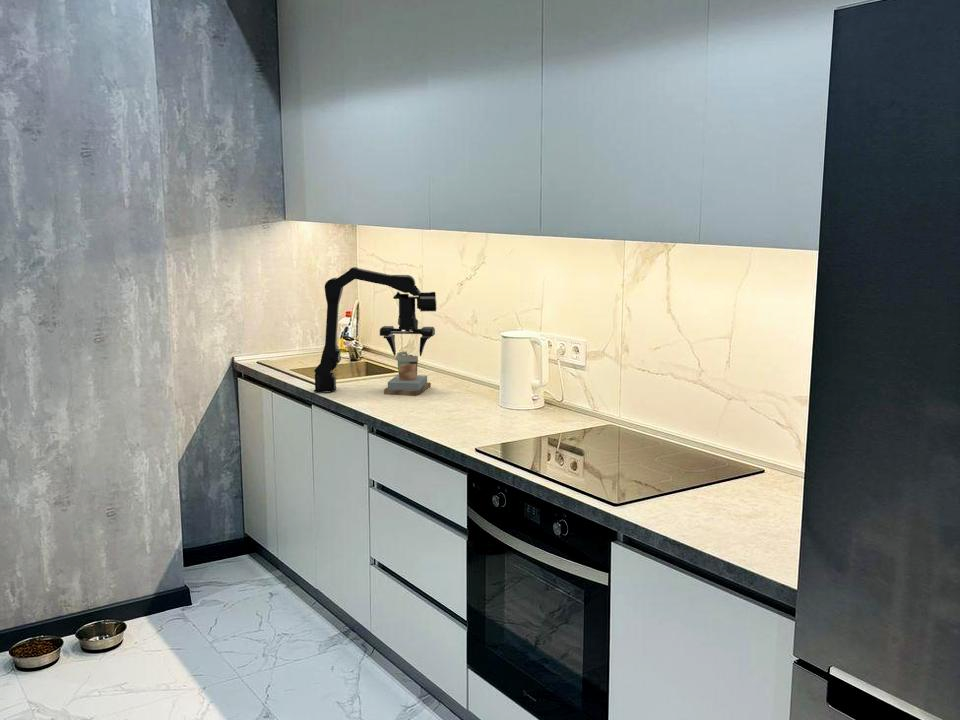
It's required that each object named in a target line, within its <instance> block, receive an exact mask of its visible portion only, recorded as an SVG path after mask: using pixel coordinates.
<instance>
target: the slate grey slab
mask: <svg viewBox="0 0 960 720" xmlns="http://www.w3.org/2000/svg"><path fill="white" fill-rule="evenodd" d="M427 382H428V375H427V374H426V375H422V374H421V375H420V374H417V378H416V379H414V380H399V374H396V375H395V376H394V377H392V378H391V379H390V380H389V381H387V387H388V390H420V389H421V388H422V387H423V386H424V385H425V384H426V383H427Z"/></svg>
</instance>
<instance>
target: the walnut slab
mask: <svg viewBox="0 0 960 720" xmlns="http://www.w3.org/2000/svg"><path fill="white" fill-rule="evenodd" d="M431 385H432V383H431V382H428V381H427V383H426V384H425V385H424V386H423V387H422V388H421V389H420V390H388V386H386V388H384V389H383V395H389V396H390V395H392V396H406V395H407V396H408V397H409V396H410V397H418V396H419V395H421V394H422V392H423V393H424V392H426V391H427V390H429V389H431V388H430V387H432V386H431ZM428 388H429V389H428ZM425 390H426V391H425ZM417 395H418V396H417Z"/></svg>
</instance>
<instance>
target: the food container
mask: <svg viewBox="0 0 960 720" xmlns="http://www.w3.org/2000/svg"><path fill="white" fill-rule="evenodd" d="M395 356H396V357H395V360H396V361H397V367H398V368H397V369H398V370H397V372H398V373H397V374H399V366H400V365H401V364H417V365H418V363H419V356H418V355H413V354H408V351H400V352H396V355H395Z"/></svg>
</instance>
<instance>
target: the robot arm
mask: <svg viewBox="0 0 960 720" xmlns="http://www.w3.org/2000/svg"><path fill="white" fill-rule="evenodd" d="M353 280H358V281H362V282H369V283H374V284H379V285H383V286H386V287H389V288H392V289H394V290H396V294H395V295H394V296H393V297H392V299H394V300H398V319H397V325H398V328H396V327H394V326H393V325H388V326H387V325H384V326H381V328H379V337H380V336H382V337H383V339H385V340H386V342H387V343H388V344H389V347H390V349H391V351H392V354H393V356H396V355H397V350H396V336H395V335H396V334H397V335H400V334H401V335H421V336H420V340H419V356H420V357H422V355H423V352H424V348H425V346H426V342H427V341H428V340H429V339H430V338H432V337H434V336H435V334H436V330H435V329H436V328H435V326H422V327H421V328H419V327H418V326H419V320H418V319H417V317H416V315H417V314H416V309H418V310H419V311H420V312H437V299H436V296H437V295H436V291H429V292H424V291H423V292H421V291H420V289H419V288H418V286H417V285H416V281H415V278H414V277H413V276H412V275H409V274H387V273H383V272H378V271H372V270H368V269H363V268H359V267H357V266H353V267H350V268H349V269H348V270H347V271H346V272H344V273H343V274H342V275H340V276H338V277H333V278H332V277H331V278H330V279H329V280H327V281H326V282H325V284H324V292H325V293H324V295H325V300H326V305H327V307H326V308H327V309H326V322H325V323H326V325H325V343H324V346H323V350H322V354H321V357H320V363H319V364H318V365H317V366H316V368H314V389H313V392H314V391H332V392H334V391H335V390H336V389H337V377H336V376H335V372H333V371H334V370H335V369H336V367H338V365H339V363H340V362H341V360H342V357H341V354H342V348H338V344H337V342H338V341H337V340H338V325H339V307H340V301H341V299H342V295H343V290H344V287H345V286H347V285H348V284H350V283H352V282H353ZM401 292H402V293H401ZM409 294H410V295H409ZM334 389H335V390H334ZM333 390H334V391H333Z"/></svg>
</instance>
